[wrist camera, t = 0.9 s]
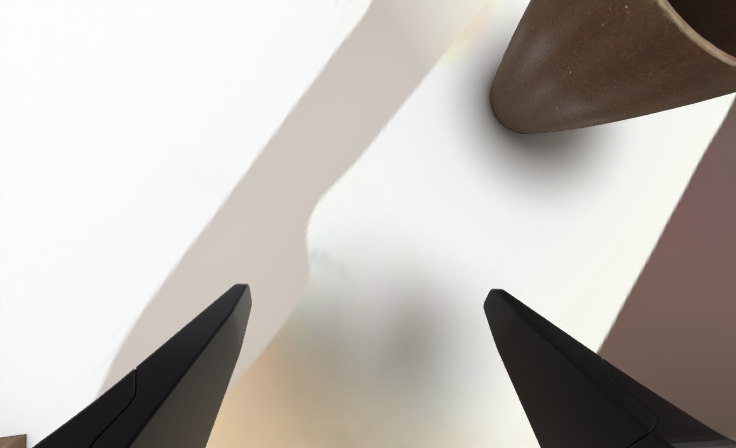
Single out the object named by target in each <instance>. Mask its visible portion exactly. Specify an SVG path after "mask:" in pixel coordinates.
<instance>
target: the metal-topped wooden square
mask: <svg viewBox="0 0 736 448" xmlns="http://www.w3.org/2000/svg"><path fill="white" fill-rule="evenodd" d="M0 448H26V434H25V435H18V436H10V437H3V438H0Z"/></svg>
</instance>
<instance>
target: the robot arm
mask: <svg viewBox="0 0 736 448" xmlns="http://www.w3.org/2000/svg"><path fill="white" fill-rule="evenodd" d="M251 305H252V299H251V293H250V287H249V285H248V284H235V285H234V286H232V287H231V288H230V289H229V290H228V291H226V292H225V293H224V294H223V295H222V296H220V297H219V298H218V299H217V300H216V301H214V302H213V303H212V304H211V305H210V306H209V307H207V308H206V309H205V310H204V311H203V312H201V313H200V314H199V315H198V316H197V317H195V318H194V319H193V320H192V321H191V322H189V323H188V324H187V325H186V326H185V327H183V328H182V329H181V330H180V331H179V332H177V333H176V334H175V335H174V336H173V337H171V338H170V339H169V340H168V341H167V342H166V343H164V344H163V345H162V346H161V347H160V348H158V349H157V350H156V351H155V352H154V353H152V354H151V355H150V356H149V357H148V358H146V359H145V360H144V361H143V362H142V363H141V364H139V365H138V366H137V367H136V369H133V370H132V371H131V372H130V373H128V374H127V375H126V376H125V377H124V378H122V379H121V380H120V381H119V382H118V383H116V384H115V385H114V386H113V387H111V388H110V389H109V390H108V391H106V392H105V393H104V394H103V395H101V396H100V397H99V398H98V399H96V400H95V401H94V402H93V403H91V404H90V405H89V406H87V407H86V408H85V409H83V410H82V411H81V412H79V413H78V414H77V415H75V416H74V417H73V418H71V419H70V420H69V421H68V422H66V423H65V424H63V425H62V426H61V427H59V428H58V429H57V430H55V431H54V432H53V433H51V434H50V435H49V436H47V437H46V438H44V439H43V440H42V441H40V442H39V443H38V444H36V445H35V446H34V447H32V448H205V447H206V444H207V442H208V439H209V436H210V433H211V431H212V428H213V425H214V423H215V420H216V417H217V414H218V412H219V409H220V406H221V403H222V401H223V398H224V395H225V392H226V390H227V387H228V384H229V381H230V379H231V376H232V373H233V370H234V368H235V365H236V362H237V360H238V357H239V354H240V350H241V347H242V343H243V339H244V335H245V331H246V327H247V323H248V319H249V314H250V310H251ZM484 311H485V314H486V317H487V320H488V323H489V326H490V329H491V332H492V336H493V339H494V341H495V344H496V347H497V349H498V352H499V354H500V356H501V359H502V361H503V363H504V366H505V368H506V370H507V372H508V375H509V377H510V379H511V381H512V384H513V386H514V388H515V391H516V393H517V395H518V397H519V400H520V402H521V404H522V406H523V409H524V411H525V413H526V415H527V418H528V420H529V422H530V425H531V427H532V429H533V431H534V434H535V436H536V438H537V440H538V443H539V445H540V447H541V448H736V441H734V440H732V439H729V438H728V437H726V436H724V435H722V434H720V433H718V432H717V431H715V430H713V429H711V428H710V427H708V426H707V425H705V424H704V423H702V422H700V421H699V420H697V419H696V418H694V417H692V416H691V415H689V414H688V413H686V412H684V411H683V410H681V409H680V408H678V407H676V406H675V405H673V404H672V403H670V402H669V401H667V400H665V399H664V398H662V397H661V396H659V395H657V394H656V393H654V392H653V391H651V390H650V389H648V388H646V387H645V386H643V385H642V384H640V383H639V382H637V381H635V380H634V379H632V378H631V377H630V376H628V375H627V374H625V373H624V372H622V371H621V370H619V369H618V368H616V367H614V366H613V365H612V364H610V363H609V362H608V361H606V360H605V359H602V358H601V357H600V356H599V355H597V354H596V353H594V352H593V351H592V350H590V349H589V348H587V347H586V346H584V345H583V344H581V343H580V342H578V341H577V340H576V339H574V338H573V337H571V336H570V335H568V334H567V333H565V332H564V331H563V330H561V329H560V328H558V327H557V326H555V325H554V324H552V323H551V322H549V321H548V320H547V319H545V318H544V317H542V316H541V315H539V314H538V313H536V312H535V311H533V310H532V309H531V308H529V307H528V306H526V305H525V304H523V303H522V302H520V301H519V300H518V299H516V298H515V297H513V296H512V295H510V294H509V293H507V292H506V291H504V290H503V289H491V290H490V292H489V294H488V296H487V298H486V300H485V302H484Z"/></svg>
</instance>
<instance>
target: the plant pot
mask: <svg viewBox="0 0 736 448" xmlns="http://www.w3.org/2000/svg"><path fill="white" fill-rule="evenodd" d="M734 92H736V0H531V1H530V3H529V5H528V7H527V8H526V10H525V12H524V14H523V16H522V18H521V20H520V22H519V24H518V26H517V28H516V30H515V32H514V34H513V37H512V39H511V41H510V43H509V45H508V47H507V50H506V52H505V54H504V56H503V59H502V61H501V64H500V66H499V68H498V71H497V74H496V76H495V79H494V82H493V85H492V88H491V93H490V100H491V106H492V109H493V111H494V114H495V116H496V117H497V119H498V120H499V121H500V122H501V123H502V124H503V125H504V126H505V127H507V128H508V129H510V130H512V131H514V132H518V133H524V134H527V133H544V132H554V131H563V130H571V129H578V128H584V127H590V126H595V125H601V124H606V123H611V122H616V121H621V120H626V119H630V118H635V117H640V116H644V115H648V114H653V113H657V112H661V111H665V110H670V109H674V108H678V107H682V106H686V105H690V104H694V103H698V102H701V101H705V100H709V99H712V98H716V97H720V96H723V95H727V94H731V93H734Z"/></svg>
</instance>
